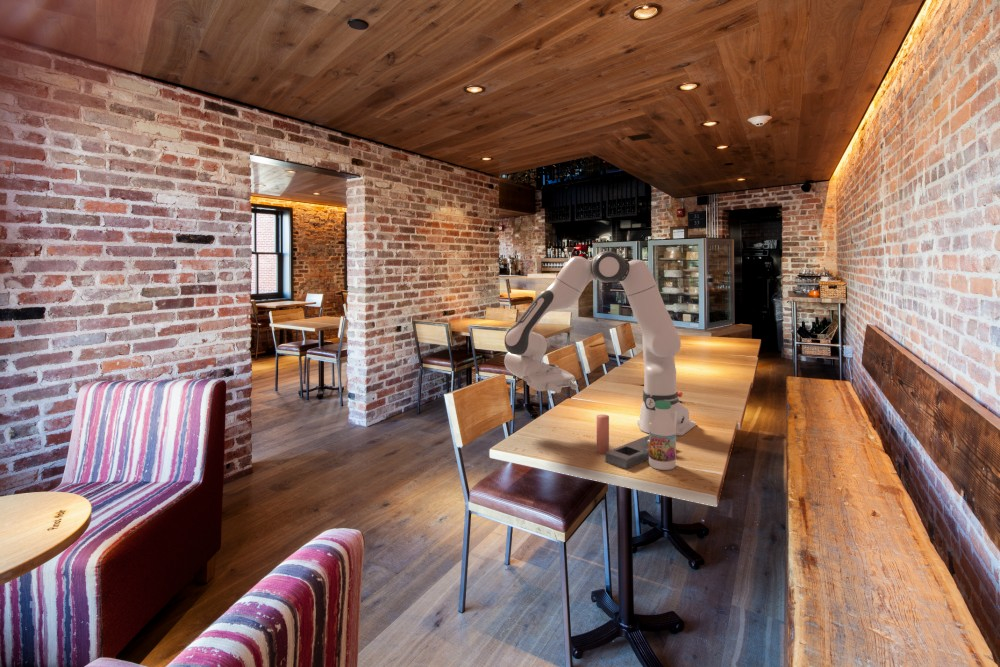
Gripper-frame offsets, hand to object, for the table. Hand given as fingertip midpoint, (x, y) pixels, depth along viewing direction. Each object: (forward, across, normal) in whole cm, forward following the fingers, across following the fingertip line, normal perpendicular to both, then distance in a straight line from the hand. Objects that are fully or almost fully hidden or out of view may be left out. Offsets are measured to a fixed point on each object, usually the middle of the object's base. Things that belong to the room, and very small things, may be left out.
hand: (568, 389), depth 169 cm
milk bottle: (+37, +3, +10) cm, 39 cm away
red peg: (+18, +2, +15) cm, 23 cm away
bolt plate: (+28, +7, +12) cm, 31 cm away
